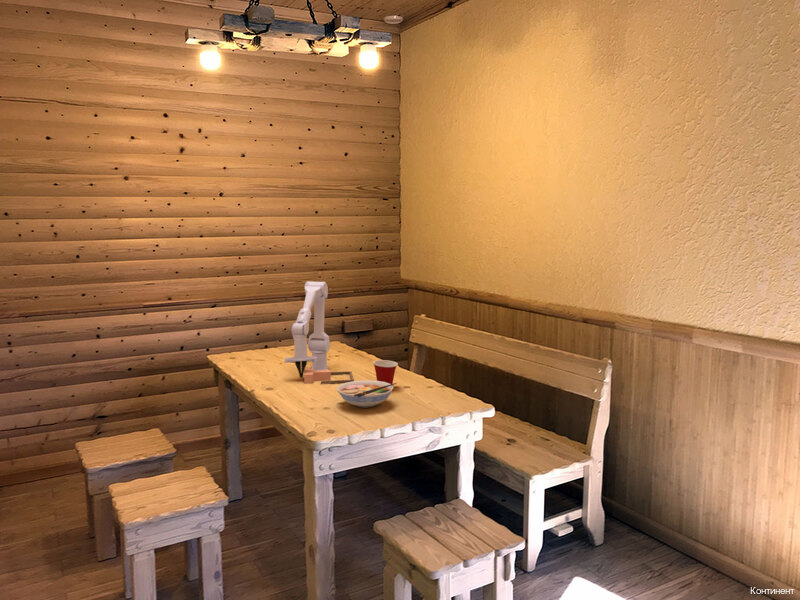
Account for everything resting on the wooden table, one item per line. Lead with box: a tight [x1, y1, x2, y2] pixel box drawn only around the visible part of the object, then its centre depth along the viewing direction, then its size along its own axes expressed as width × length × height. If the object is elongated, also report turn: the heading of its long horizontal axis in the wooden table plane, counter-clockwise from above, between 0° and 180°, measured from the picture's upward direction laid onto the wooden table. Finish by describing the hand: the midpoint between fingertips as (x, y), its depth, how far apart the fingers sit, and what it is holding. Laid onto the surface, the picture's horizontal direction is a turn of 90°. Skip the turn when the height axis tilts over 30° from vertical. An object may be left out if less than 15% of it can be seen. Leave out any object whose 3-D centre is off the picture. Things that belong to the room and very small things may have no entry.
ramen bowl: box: [336, 379, 398, 409], centre depth 264 cm, size 25×23×8 cm
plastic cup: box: [372, 359, 399, 385], centre depth 288 cm, size 11×11×12 cm
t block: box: [303, 367, 332, 384], centre depth 305 cm, size 12×12×4 cm
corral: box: [320, 370, 355, 385], centre depth 307 cm, size 17×15×1 cm
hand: (301, 377), depth 304 cm, fingers closed
